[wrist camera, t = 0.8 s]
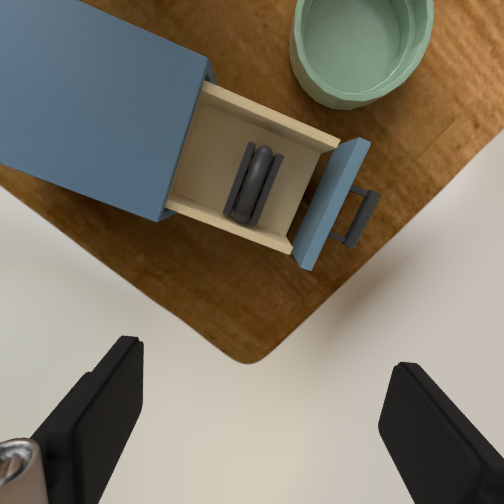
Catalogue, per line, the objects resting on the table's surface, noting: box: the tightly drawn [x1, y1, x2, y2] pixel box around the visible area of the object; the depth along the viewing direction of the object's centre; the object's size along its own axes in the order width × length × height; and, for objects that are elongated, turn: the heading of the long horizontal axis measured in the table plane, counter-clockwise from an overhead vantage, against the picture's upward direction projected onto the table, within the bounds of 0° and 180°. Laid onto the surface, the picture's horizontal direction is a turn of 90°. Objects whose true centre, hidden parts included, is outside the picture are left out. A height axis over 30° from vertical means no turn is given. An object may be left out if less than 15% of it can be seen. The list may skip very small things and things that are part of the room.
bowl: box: [288, 0, 434, 110], centre depth 27 cm, size 12×12×4 cm
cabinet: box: [0, 0, 218, 222], centre depth 26 cm, size 18×14×9 cm
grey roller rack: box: [223, 141, 284, 226], centre depth 28 cm, size 7×3×6 cm, turn 159°
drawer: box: [165, 80, 381, 271], centre depth 28 cm, size 21×12×7 cm, turn 68°
